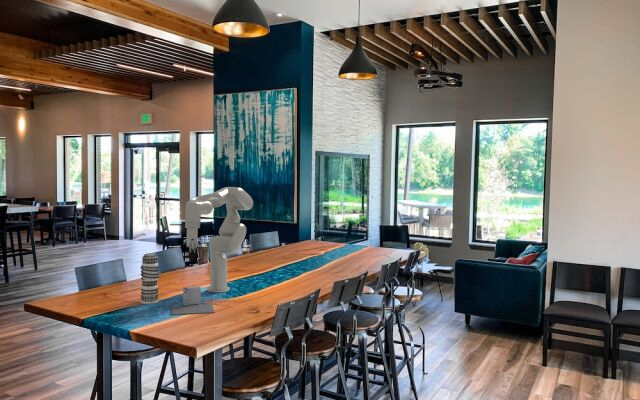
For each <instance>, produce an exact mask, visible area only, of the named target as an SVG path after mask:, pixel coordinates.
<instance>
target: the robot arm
mask: <svg viewBox="0 0 640 400" xmlns="http://www.w3.org/2000/svg"><path fill="white" fill-rule="evenodd" d="M223 205H225V207H226V216H225V218H224V220H223V223H222V224H221V226H220V227H219V231H218V234H219V235H216V236H212V237H211V238H210V239H209V243H208V244H209V251H210V252H209V253H210V275H209V276H210V279H209V280H210V282H209V287H207V289H206V290H207V292H210V293H218V294H219V293H226V292H229V291H230V289H231V288H230V286H228V257H227V255H226V254H228V255H229V254H230V255H231V254H232V255H233V254H236V253H237V252H238V251H239V250H240V248H241V247H242V246H241V245H242V244H243V242H244V240H245V237H246V234H247V227H246V225H245V224H243V223H241V216H240V214H239V211H249V210H251V209H252V208H253V206H254V200H253V199H252V196H250V194H248V193H247V191H245V190H244V189H243V188H241V187H239V186H238V187H236V186H232V187H231V186H227V187H225V186H224V187H223V188H220V189H219V190H216V191H215V192H211V193H207V194H203V195H199V196H198V195H197V196H196V197H193V198H191V199H190V200H189V201H187V202H185V211H184V213H185V216H184V217H185V220H184V221H185V222H184V223H185V224H184V225H185V226H184V228H185V229H186V248H189V250H188V261H195V260H196V247H197V245H198V229H200V228H201V215H203V216H205V215H206V216H207V215H210V214H211V213H212V211H213V210H214V209H215V208H219V207H221V206H223Z"/></svg>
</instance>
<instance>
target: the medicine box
mask: <svg viewBox="0 0 640 400" xmlns="http://www.w3.org/2000/svg"><path fill="white" fill-rule="evenodd" d="M182 291H183V293H182V296H183V297H182V306H184V305H187V306H189V305H200V304H201V298H202V297H201V296H202V295H201V294H202V293H201V291H202V287H201V286H199V285H198V286H197V285H195V286H193V285H192V286H187V287H183V289H182Z"/></svg>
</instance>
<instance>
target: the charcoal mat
mask: <svg viewBox="0 0 640 400" xmlns="http://www.w3.org/2000/svg"><path fill="white" fill-rule="evenodd" d="M170 311H171V316H181V315H182V316H183V315H198V314H200V315H201V314H214V313H215V309H214V306H213V303H211V304H210V303H207V304H194V305H189V306H187V305H171V310H170Z"/></svg>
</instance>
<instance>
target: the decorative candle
mask: <svg viewBox="0 0 640 400" xmlns="http://www.w3.org/2000/svg"><path fill="white" fill-rule="evenodd" d="M141 258H142V260H141V261H142V262H141V265H140V276H141V278H140V280H141V288H140V290H141V292H140V293H141V295H140V297H141V298H140V303H141V304H143V305H144V304H146V305H150V304H156V303H158V302H159V285H158V280H159V278H160V277H159V275H160V274H159V273H158V272H159V271H160V266H159V262H158V261H159V256H158V255H157V254H156V253H154V252H153V253H150V252H149V253H145V254H143V256H141Z"/></svg>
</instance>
